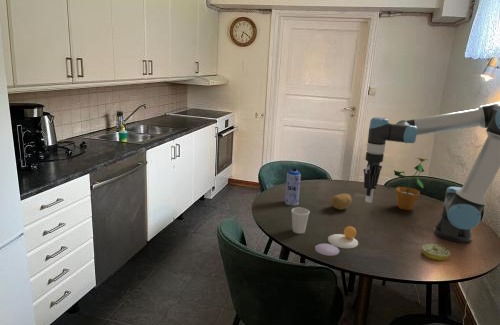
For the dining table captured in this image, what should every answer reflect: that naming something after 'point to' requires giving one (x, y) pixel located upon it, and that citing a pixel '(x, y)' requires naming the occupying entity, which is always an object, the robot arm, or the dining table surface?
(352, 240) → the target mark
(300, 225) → the dixie cup
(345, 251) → the dining table surface
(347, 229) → the ball
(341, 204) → the potato
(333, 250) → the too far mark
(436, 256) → the decorated donut
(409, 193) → the potted plant
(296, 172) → the aerosol can
